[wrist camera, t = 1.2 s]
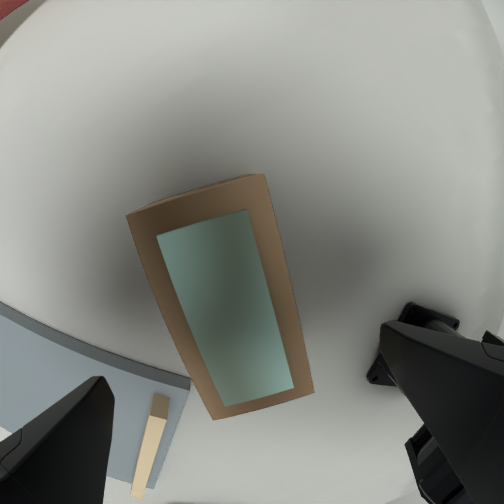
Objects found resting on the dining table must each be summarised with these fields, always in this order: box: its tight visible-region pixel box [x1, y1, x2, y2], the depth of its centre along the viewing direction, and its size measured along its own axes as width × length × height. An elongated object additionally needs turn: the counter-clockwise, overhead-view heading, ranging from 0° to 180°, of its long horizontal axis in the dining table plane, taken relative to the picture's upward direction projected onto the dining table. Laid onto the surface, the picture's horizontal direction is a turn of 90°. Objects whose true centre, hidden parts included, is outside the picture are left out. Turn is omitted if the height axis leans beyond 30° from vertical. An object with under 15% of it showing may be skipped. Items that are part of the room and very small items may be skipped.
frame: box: [126, 174, 315, 420], centre depth 13 cm, size 5×10×5 cm, turn 15°
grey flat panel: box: [0, 302, 190, 499], centre depth 15 cm, size 18×14×3 cm
